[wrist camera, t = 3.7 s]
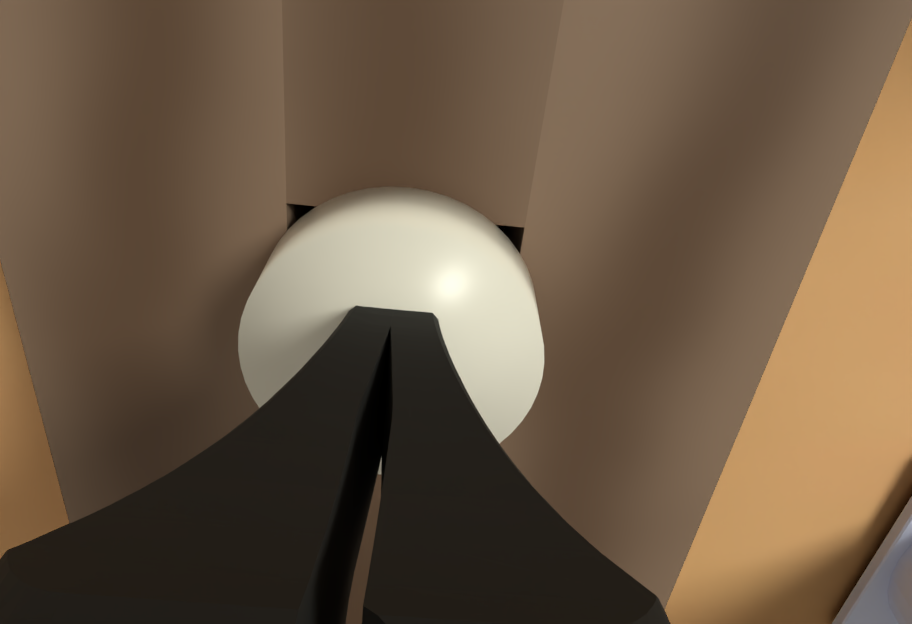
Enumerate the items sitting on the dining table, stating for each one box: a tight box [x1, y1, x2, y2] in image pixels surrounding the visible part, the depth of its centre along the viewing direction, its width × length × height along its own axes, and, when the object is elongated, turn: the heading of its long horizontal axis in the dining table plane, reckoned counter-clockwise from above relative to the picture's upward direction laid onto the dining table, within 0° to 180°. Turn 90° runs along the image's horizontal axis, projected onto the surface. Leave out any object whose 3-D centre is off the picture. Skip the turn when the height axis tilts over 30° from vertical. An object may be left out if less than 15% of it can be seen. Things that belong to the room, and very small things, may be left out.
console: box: [0, 0, 912, 624], centre depth 17 cm, size 14×26×3 cm, turn 174°
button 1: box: [238, 187, 544, 474], centre depth 13 cm, size 5×5×4 cm
